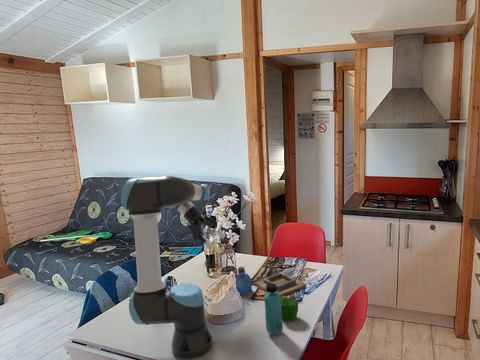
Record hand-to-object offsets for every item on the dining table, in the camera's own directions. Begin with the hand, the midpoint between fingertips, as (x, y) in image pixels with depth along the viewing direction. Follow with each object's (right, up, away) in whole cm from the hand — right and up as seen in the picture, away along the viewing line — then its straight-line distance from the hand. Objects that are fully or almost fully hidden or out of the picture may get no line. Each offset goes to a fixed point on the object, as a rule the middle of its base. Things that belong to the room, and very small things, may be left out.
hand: (217, 242), depth 179 cm
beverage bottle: (+24, -29, -37) cm, 53 cm away
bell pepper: (+31, -27, -27) cm, 49 cm away
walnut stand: (+31, -22, +1) cm, 38 cm away
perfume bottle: (+12, -24, -1) cm, 27 cm away
